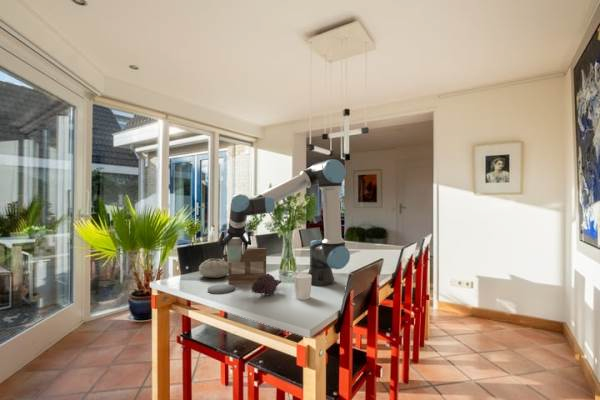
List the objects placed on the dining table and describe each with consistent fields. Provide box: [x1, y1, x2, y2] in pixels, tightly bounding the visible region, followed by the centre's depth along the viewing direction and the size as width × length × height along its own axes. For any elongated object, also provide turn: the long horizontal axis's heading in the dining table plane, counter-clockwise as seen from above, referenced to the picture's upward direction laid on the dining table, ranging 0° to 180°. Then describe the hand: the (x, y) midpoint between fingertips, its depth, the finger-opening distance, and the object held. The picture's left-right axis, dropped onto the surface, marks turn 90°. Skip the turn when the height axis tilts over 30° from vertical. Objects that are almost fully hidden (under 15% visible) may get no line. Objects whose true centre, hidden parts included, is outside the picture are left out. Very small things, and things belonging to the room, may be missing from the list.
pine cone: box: [250, 273, 282, 296], centre depth 139 cm, size 18×10×10 cm, turn 140°
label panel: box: [227, 247, 267, 285], centre depth 162 cm, size 6×20×18 cm, turn 102°
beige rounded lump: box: [198, 258, 229, 279], centre depth 173 cm, size 18×18×10 cm
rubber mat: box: [207, 283, 236, 295], centre depth 147 cm, size 13×13×1 cm
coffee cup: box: [226, 237, 243, 263], centre depth 149 cm, size 8×8×12 cm
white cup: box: [294, 273, 312, 301], centre depth 136 cm, size 8×8×10 cm
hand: (233, 252), depth 152 cm, fingers closed on coffee cup, 8 cm apart
